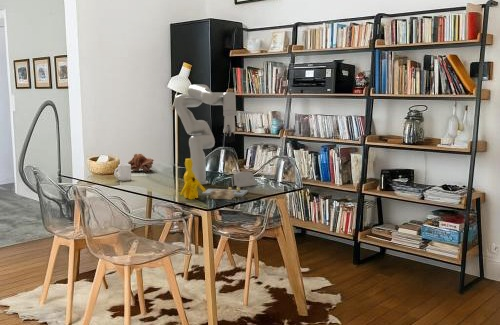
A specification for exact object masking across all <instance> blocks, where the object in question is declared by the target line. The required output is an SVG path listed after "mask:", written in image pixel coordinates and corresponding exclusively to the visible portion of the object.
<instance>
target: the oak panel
mask: <svg viewBox="0 0 500 325" xmlns="http://www.w3.org/2000/svg"><path fill="white" fill-rule="evenodd" d="M234 190H235V189H232V190H212V191H210V195H209V196H210V200H211V199H214V200H232V199H233V198H235V196H234Z"/></svg>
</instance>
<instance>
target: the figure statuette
mask: <svg viewBox="0 0 500 325" xmlns="http://www.w3.org/2000/svg"><path fill="white" fill-rule="evenodd" d="M192 166H193V162H192V159H191V158H185V161H184V167H185V172H184V175H183V182H184V185H183V188H182V189H181V192H180V194H179V196H182V195H183V197H184V198H186V199H187V200H195V198H196V199H198V198H199V191H198V188H199V189H201V191H202V192H205V191H206V190H207V189H206V188H205V187H204V185H201V184H200V182H199V181H198V179H195V174H194V173H193V171H192Z"/></svg>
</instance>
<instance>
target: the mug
mask: <svg viewBox="0 0 500 325" xmlns="http://www.w3.org/2000/svg"><path fill="white" fill-rule="evenodd" d="M117 166H118V167H116V168H115V169H114V172H113V173H114V174H113V175H114V177H115V178H116V179H118V180H119V181H121V182H126V181H131V180H132V170H131V164H128V163H120V164H118V165H117ZM117 171H118V172H117ZM117 173H118V174H117Z"/></svg>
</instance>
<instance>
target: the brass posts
mask: <svg viewBox="0 0 500 325" xmlns="http://www.w3.org/2000/svg"><path fill="white" fill-rule="evenodd" d="M227 189H228V190H233V186H232V187H231V186H228V188H227ZM236 190H237V192H240V190H241V187H237V186H236Z"/></svg>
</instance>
